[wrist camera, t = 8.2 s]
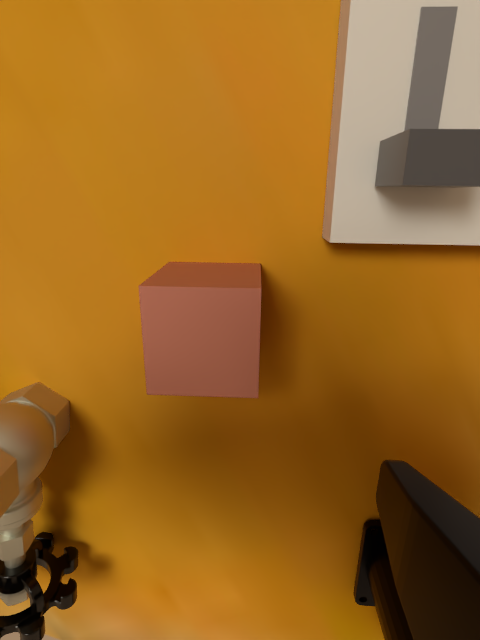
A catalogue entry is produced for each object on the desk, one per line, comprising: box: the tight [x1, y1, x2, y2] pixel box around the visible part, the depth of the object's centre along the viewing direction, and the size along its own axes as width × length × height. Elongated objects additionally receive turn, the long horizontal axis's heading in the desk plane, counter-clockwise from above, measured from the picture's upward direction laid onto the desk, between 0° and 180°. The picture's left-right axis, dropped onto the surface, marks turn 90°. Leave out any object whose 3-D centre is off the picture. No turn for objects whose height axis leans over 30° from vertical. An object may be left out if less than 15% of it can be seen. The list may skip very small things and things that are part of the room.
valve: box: [0, 382, 78, 640], centre depth 20 cm, size 7×7×12 cm
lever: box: [375, 129, 480, 188], centre depth 13 cm, size 2×3×3 cm, turn 89°
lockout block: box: [139, 262, 261, 398], centre depth 17 cm, size 4×4×5 cm
